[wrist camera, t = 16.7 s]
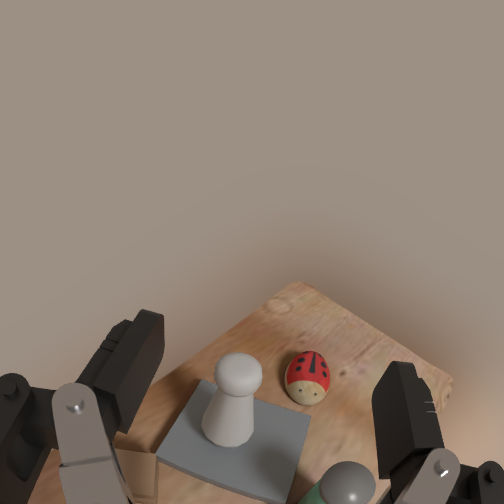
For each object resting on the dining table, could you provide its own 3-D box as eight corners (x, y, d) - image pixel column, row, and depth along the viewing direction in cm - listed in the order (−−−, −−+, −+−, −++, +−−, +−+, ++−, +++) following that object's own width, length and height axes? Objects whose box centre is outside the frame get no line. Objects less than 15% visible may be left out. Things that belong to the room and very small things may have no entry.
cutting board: (155, 459, 29) (154, 454, 29) (201, 385, 41) (202, 378, 40) (282, 506, 26) (285, 503, 26) (308, 421, 37) (311, 415, 37)
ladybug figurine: (280, 403, 40) (286, 388, 38) (286, 354, 49) (291, 338, 47) (327, 411, 39) (335, 396, 38) (327, 361, 48) (334, 346, 46)
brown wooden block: (111, 498, 24) (103, 487, 22) (116, 461, 28) (109, 447, 26) (157, 505, 24) (153, 495, 23) (159, 467, 29) (155, 454, 27)
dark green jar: (289, 525, 24) (316, 503, 20) (300, 487, 29) (328, 456, 24) (334, 533, 23) (371, 512, 19) (342, 496, 28) (378, 466, 23)
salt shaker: (194, 445, 31) (196, 378, 25) (209, 408, 36) (217, 335, 30) (244, 460, 30) (265, 398, 24) (255, 422, 35) (278, 351, 29)
